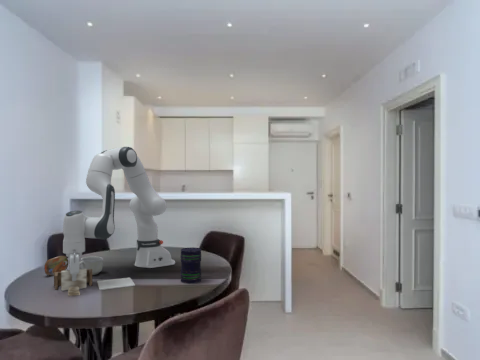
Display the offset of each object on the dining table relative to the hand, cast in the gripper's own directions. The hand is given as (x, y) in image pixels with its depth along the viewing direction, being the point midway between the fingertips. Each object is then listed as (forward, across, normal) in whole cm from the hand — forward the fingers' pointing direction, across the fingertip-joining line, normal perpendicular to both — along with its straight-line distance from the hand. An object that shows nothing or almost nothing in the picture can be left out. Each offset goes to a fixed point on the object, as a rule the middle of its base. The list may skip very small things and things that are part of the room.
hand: (74, 279), depth 160 cm
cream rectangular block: (+4, 0, 0) cm, 4 cm away
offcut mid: (+4, -9, 0) cm, 9 cm away
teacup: (+4, +24, -8) cm, 25 cm away
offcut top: (+2, -9, 0) cm, 9 cm away
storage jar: (+4, -10, -50) cm, 51 cm away
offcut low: (+5, -9, 0) cm, 10 cm away
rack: (+4, +5, 0) cm, 6 cm away
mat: (+4, 0, -18) cm, 18 cm away
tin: (+4, +32, +8) cm, 34 cm away
